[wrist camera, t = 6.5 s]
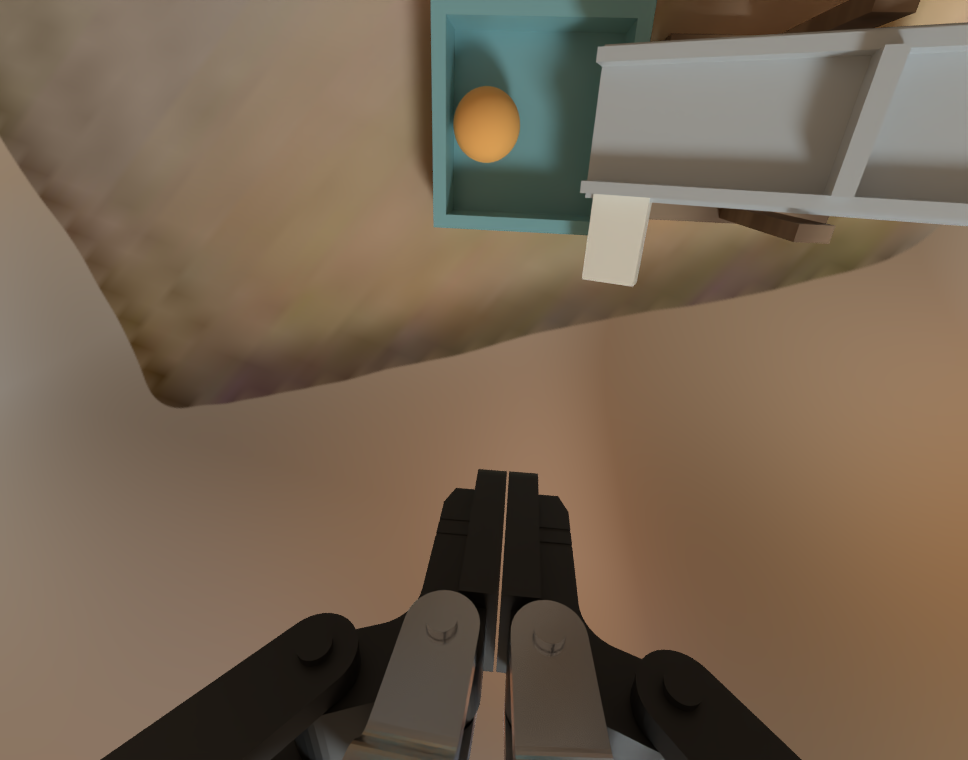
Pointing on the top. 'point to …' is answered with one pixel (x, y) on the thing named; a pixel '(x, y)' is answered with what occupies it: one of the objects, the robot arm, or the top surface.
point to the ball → (486, 124)
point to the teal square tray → (524, 106)
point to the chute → (778, 131)
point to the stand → (865, 9)
